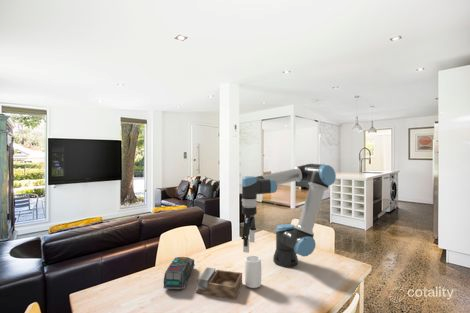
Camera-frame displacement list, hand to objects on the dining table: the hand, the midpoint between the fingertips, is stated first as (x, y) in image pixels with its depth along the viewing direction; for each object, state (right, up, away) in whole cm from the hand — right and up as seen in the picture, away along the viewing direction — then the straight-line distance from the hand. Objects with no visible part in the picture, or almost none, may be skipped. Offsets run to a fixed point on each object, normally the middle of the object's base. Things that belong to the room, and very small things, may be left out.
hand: (249, 246), depth 124 cm
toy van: (-37, -20, +6) cm, 43 cm away
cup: (+2, -20, -1) cm, 20 cm away
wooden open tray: (-15, -20, -3) cm, 25 cm away
